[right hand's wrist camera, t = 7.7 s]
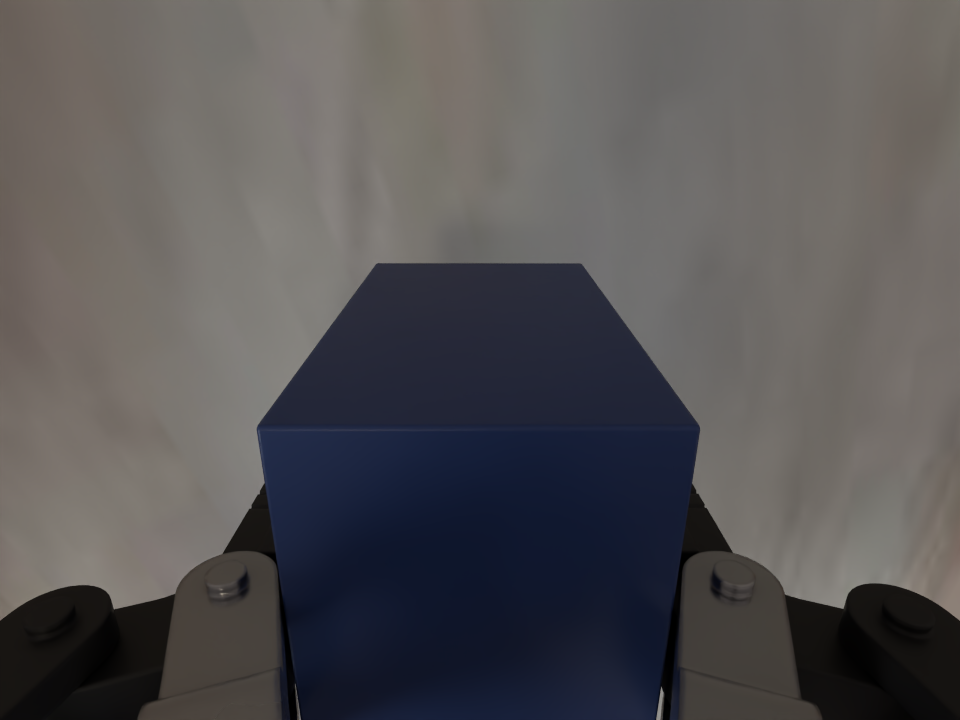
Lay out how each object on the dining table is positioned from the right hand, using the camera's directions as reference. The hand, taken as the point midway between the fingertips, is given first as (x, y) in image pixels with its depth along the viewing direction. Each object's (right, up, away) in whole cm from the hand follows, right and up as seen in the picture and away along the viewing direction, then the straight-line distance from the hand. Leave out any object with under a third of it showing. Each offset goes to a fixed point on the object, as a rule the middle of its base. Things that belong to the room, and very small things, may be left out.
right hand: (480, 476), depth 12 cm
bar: (0, -6, +6) cm, 8 cm away
